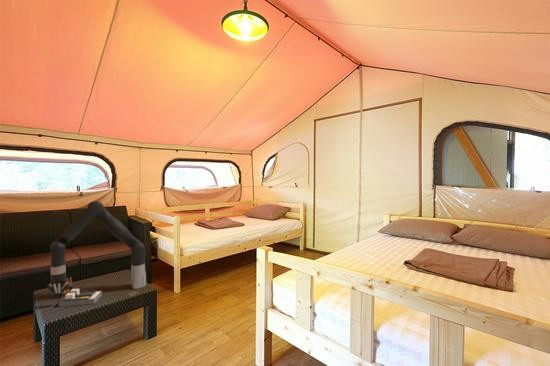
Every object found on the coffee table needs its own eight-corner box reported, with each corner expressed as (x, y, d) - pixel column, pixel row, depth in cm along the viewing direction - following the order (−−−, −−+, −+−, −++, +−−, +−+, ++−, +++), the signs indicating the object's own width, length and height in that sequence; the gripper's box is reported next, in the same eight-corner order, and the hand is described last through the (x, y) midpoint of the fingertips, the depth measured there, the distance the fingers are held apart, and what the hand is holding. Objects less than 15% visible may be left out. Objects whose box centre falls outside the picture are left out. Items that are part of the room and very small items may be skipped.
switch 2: (79, 293, 177) (79, 288, 177) (77, 295, 174) (77, 290, 174) (72, 293, 176) (72, 289, 176) (70, 295, 173) (70, 291, 173)
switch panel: (101, 295, 182) (101, 289, 182) (94, 303, 170) (94, 297, 170) (69, 297, 177) (68, 292, 177) (58, 306, 166) (58, 300, 165)
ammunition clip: (53, 298, 176) (52, 281, 176) (52, 297, 177) (52, 280, 177) (72, 293, 184) (72, 276, 184) (72, 292, 185) (71, 275, 185)
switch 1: (75, 297, 171) (74, 292, 171) (72, 299, 169) (72, 294, 168) (68, 298, 171) (67, 293, 170) (65, 300, 168) (65, 295, 167)
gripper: (73, 269, 172) (73, 294, 173) (49, 270, 169) (50, 296, 170) (67, 273, 165) (67, 299, 166) (42, 275, 162) (43, 302, 163)
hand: (59, 298), depth 168 cm, fingers closed
